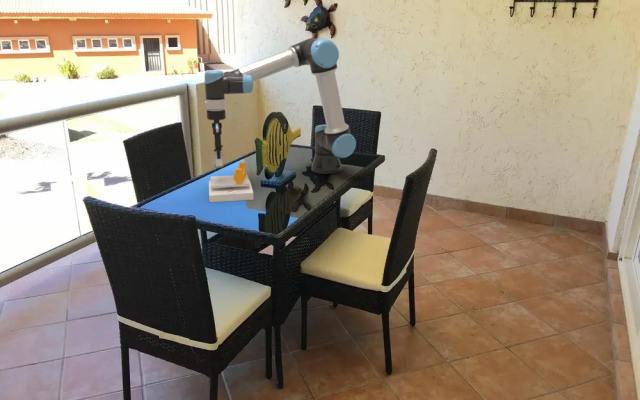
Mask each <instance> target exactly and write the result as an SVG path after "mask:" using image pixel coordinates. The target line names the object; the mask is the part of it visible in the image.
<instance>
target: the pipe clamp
mask: <svg viewBox="0 0 640 400" xmlns="http://www.w3.org/2000/svg"><path fill="white" fill-rule="evenodd" d="M246 163H247V162H246V161H240V162H239V163H238V168H237V167H236V168H235V170H234V173H233V175H234V180H236V184H243V182H244V180H245V178H246V174H247V165H246Z"/></svg>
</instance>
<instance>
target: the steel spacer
mask: <svg viewBox="0 0 640 400" xmlns="http://www.w3.org/2000/svg"><path fill="white" fill-rule="evenodd" d="M224 161H225V160H224V154H223V153H222V165H223V166H216V157H215V153H213V154H212V164H213V165H212V166H213V167H214V168H219V169H221V168H224V166H225V162H224Z"/></svg>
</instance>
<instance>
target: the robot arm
mask: <svg viewBox="0 0 640 400" xmlns="http://www.w3.org/2000/svg"><path fill="white" fill-rule="evenodd" d="M339 57H340V52H339V48H338V46H337V45H336V44H335V42H333V41H332V40H330V39H328V38H323V37H322V38H321V37H320V38H315V37H314V38H313V37H312V38H308V39H304V40H302V41H300V42H298V43H295V44H292V45H290V46H289V47H288V48H287V50H284V51H282V52H278V53H276V54H273V55H271V56H268V57H265V58H263V59H260V60H258V61H255V62H252V63H250V64H246V65H243V66H241V67H239V68H236V69H234V70H232V71H223V70H214V69H212V70H206V71H205V72H204V91H205V101H204V104H205V105H206V106H205V107H206V119H207V120H210V121H213V122H212V123H211V128H212V135H214V149H213V152H214V154H215V157H216V166H223V165H222V154H223V151H222V150H223V149H222V148H223V147H224V146H223V144H222V138H221V135H222V128H223V126H222V125H223V124H222V122H221V121H222V120H226V110H225V108H226V99H225V97H226V96H225V95H234V94H235V95H237V94H238V95H239V94H240V95H241V94H244V95H245V94H252V92H253V89H254V82H257V81H260V80H261V79H265V78H267V77H270V76H272V75H275V74H277V73H280V72H282V71H285V70H288V69H291V68H293V67H294V68H299V67H303V66H309V68H310V71H311V74H312V75H313V76H315V78H316V83H317V88H318V92H319V96H320V97H319V98H320V102H321V106H322V109H323V110H322V111H323V116H324V120H325V124H319V125H316V126H315V128H314V150H315V151H314V157H313V160H312V163H311V171H312V172H314V173H316V174H321V175H322V174H323V175H331V174H337V173H340V172H342V163H341V160H340V158H341V159H344V158H348V157H349V156H351V155H352V154H353V152H354V151H355V149H356V145H357V141H356V138H355V136H354V135H353V134H351V130H350V126H349V124H347V123H346V122H345V117H344V111H343V107H342V103H341V101H342V100H341V97H340V91H339V87H338V81H337V77H336V71H337V69H338V64H337V63H338V60H339Z"/></svg>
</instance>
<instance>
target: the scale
mask: <svg viewBox="0 0 640 400" xmlns="http://www.w3.org/2000/svg"><path fill="white" fill-rule="evenodd" d="M208 198H209V203H221V202H223V203H224V202H236V201H237V202H238V201H253V200H254V190H253V187H252V183H251V180H250V178H249V176H248V174H247V173H246V178H245V180H244V182H243V184H236V180H234V174H231V175H212V176H210V180H208Z"/></svg>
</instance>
